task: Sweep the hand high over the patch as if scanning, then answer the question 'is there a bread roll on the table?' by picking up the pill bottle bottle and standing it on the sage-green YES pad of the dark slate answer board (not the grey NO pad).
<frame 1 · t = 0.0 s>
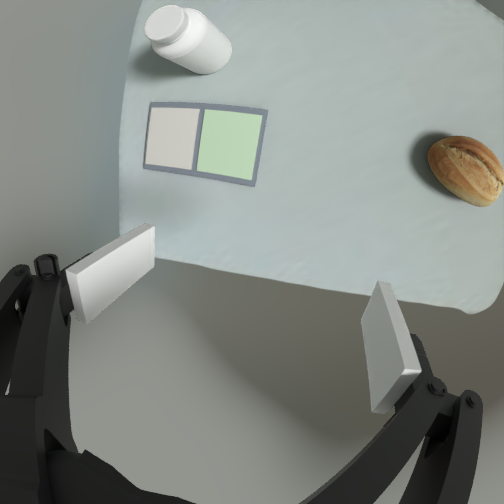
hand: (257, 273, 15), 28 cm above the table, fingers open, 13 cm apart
answer board: (200, 139, 40), on the table
pill bottle: (209, 54, 34), on the table
bread roll: (459, 167, 32), on the table
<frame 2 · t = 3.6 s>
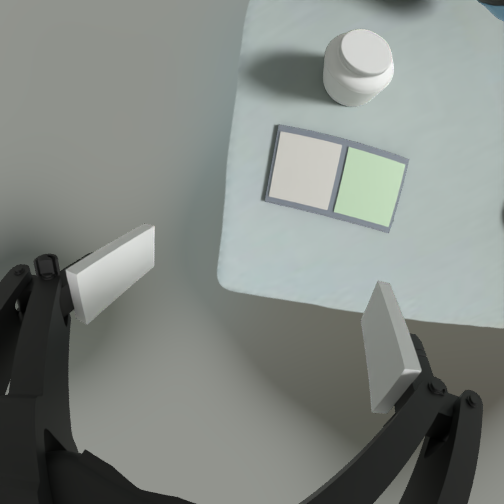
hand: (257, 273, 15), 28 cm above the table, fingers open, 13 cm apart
answer board: (337, 177, 38), on the table
pill bottle: (349, 82, 32), on the table
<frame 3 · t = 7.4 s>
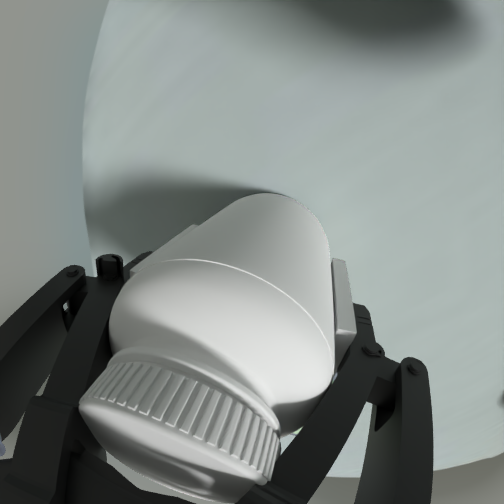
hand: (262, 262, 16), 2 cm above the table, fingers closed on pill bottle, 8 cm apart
pill bottle: (270, 247, 18), on the table, touching gripper
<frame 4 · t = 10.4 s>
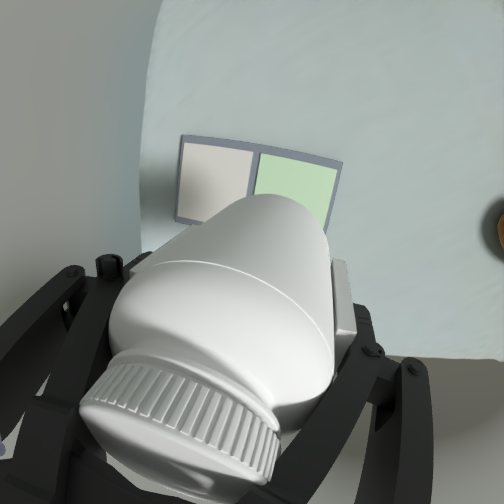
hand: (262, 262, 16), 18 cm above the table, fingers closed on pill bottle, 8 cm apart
answer board: (252, 191, 33), on the table
pill bottle: (269, 248, 18), point 16 cm above the table, touching gripper
when the fingers open (5 cm above the table, at t = 13.6 s): pill bottle drops 1 cm, resting on answer board.
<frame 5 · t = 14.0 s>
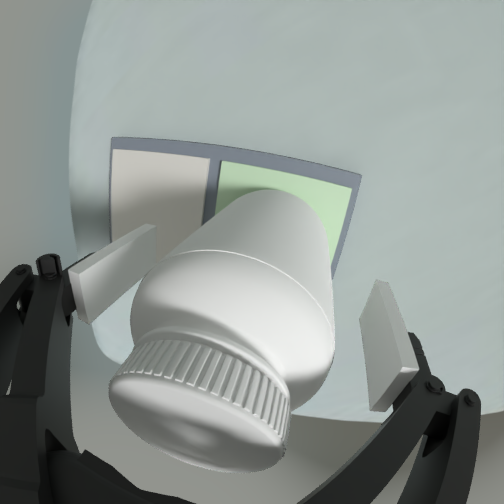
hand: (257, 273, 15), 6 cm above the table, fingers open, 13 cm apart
answer board: (212, 222, 21), on the table
pill bottle: (272, 240, 20), point 1 cm above the table, touching answer board
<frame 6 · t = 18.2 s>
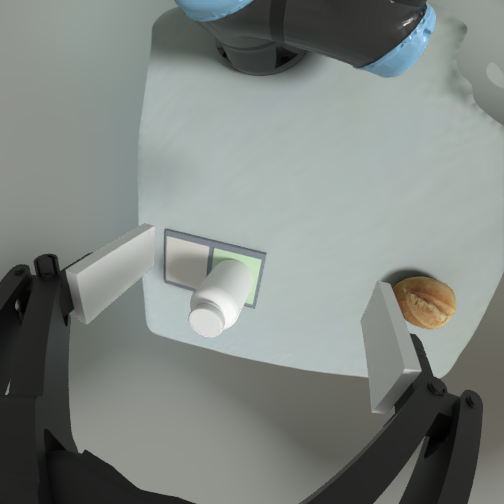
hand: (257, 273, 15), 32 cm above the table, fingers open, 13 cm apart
answer board: (211, 268, 53), on the table
pill bottle: (233, 276, 52), point 1 cm above the table, touching answer board
bread roll: (421, 292, 45), on the table
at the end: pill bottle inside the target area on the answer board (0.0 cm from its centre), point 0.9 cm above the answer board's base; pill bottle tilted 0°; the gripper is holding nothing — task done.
